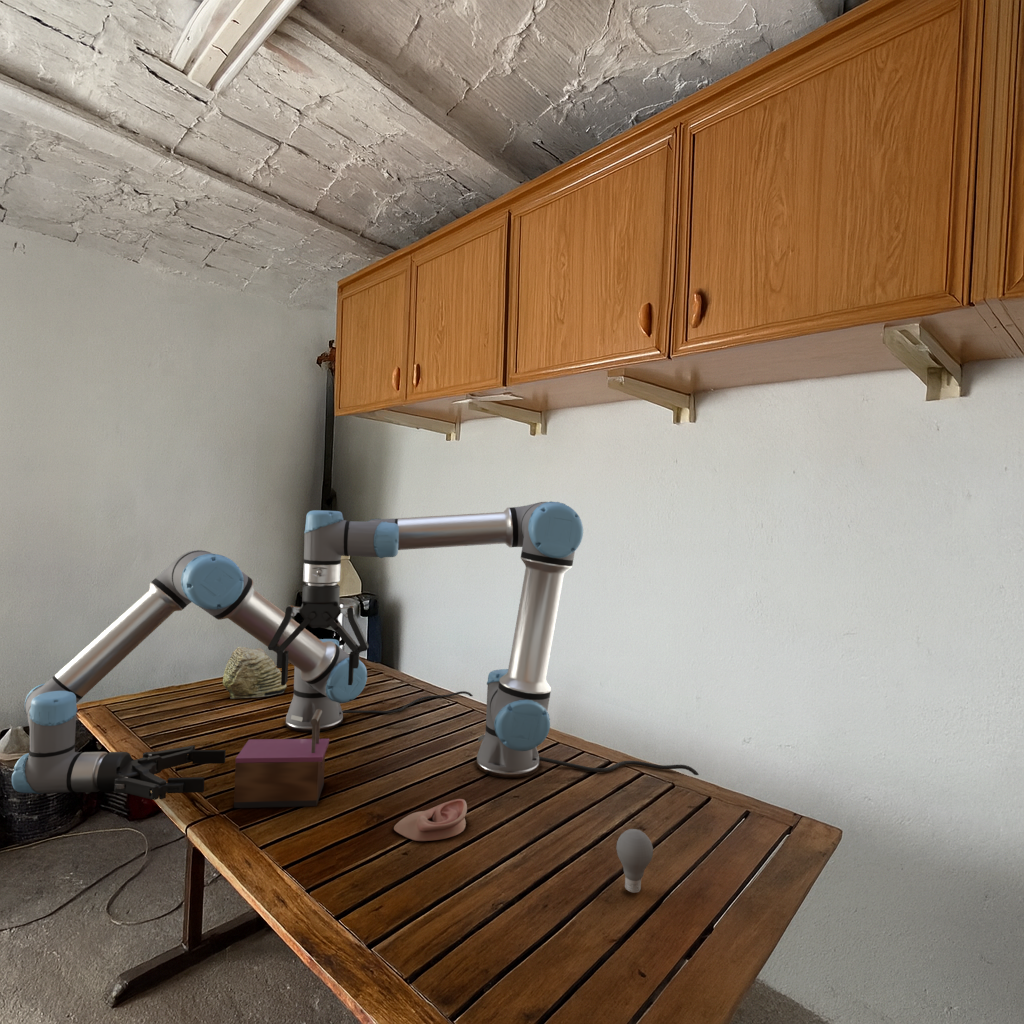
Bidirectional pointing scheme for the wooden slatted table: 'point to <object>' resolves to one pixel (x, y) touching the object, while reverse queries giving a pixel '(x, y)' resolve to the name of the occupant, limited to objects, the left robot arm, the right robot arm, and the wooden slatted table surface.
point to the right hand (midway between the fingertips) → (317, 683)
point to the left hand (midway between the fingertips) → (215, 770)
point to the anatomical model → (434, 822)
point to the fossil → (252, 674)
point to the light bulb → (634, 857)
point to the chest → (278, 784)
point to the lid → (286, 748)
